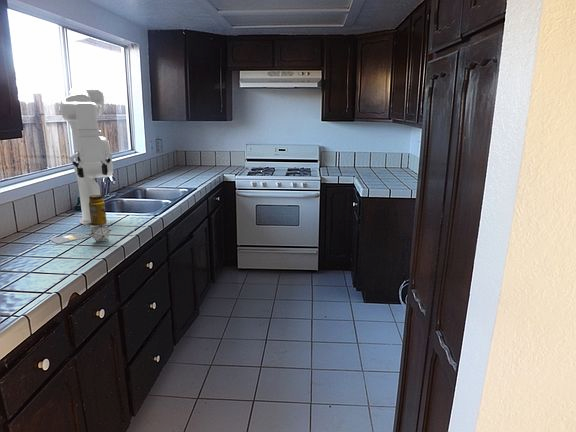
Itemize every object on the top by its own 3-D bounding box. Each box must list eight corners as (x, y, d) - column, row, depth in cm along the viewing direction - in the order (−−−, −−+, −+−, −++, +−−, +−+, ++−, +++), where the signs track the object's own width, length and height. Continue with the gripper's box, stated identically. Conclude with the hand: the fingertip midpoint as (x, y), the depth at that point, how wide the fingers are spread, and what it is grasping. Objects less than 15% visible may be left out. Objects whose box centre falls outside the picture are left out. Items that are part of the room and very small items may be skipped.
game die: (105, 250, 182) (107, 235, 175) (84, 244, 180) (86, 229, 173) (112, 235, 188) (115, 220, 182) (92, 229, 186) (94, 214, 180)
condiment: (111, 222, 181) (108, 195, 178) (94, 227, 174) (90, 198, 171) (99, 220, 184) (96, 193, 181) (82, 225, 177) (78, 197, 174)
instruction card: (48, 239, 184) (48, 238, 184) (81, 232, 195) (81, 232, 194) (57, 244, 178) (57, 243, 178) (90, 237, 188) (90, 236, 188)
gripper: (105, 132, 179) (109, 172, 184) (62, 134, 167) (67, 177, 171) (113, 133, 174) (117, 174, 179) (69, 135, 162) (75, 179, 166)
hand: (93, 176), depth 175 cm, fingers open, 9 cm apart
